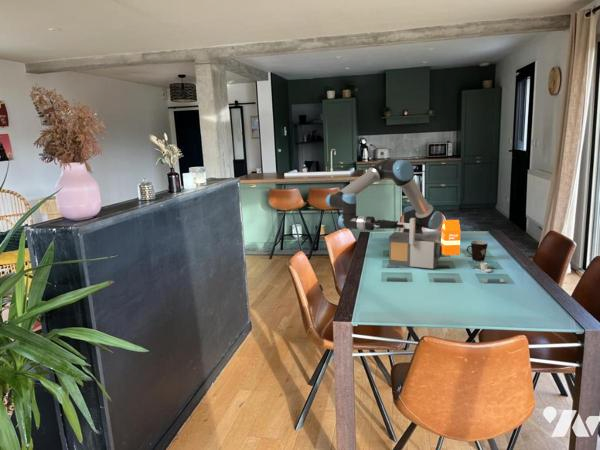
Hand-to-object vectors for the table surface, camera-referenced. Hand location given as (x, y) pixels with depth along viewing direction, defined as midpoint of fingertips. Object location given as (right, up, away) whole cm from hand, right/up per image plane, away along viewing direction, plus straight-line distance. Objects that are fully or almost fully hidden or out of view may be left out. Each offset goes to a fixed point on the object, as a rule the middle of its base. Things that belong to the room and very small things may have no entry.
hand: (409, 226), depth 236 cm
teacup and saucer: (+36, -24, -4) cm, 43 cm away
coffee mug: (+40, -19, +16) cm, 48 cm away
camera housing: (+6, -21, +11) cm, 25 cm away
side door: (+6, -22, +2) cm, 23 cm away
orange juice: (+31, -16, +31) cm, 47 cm away
